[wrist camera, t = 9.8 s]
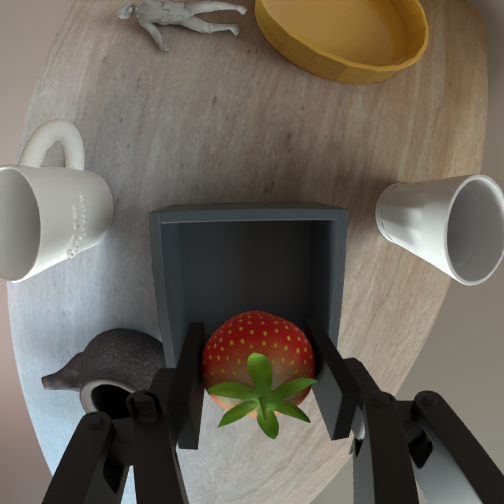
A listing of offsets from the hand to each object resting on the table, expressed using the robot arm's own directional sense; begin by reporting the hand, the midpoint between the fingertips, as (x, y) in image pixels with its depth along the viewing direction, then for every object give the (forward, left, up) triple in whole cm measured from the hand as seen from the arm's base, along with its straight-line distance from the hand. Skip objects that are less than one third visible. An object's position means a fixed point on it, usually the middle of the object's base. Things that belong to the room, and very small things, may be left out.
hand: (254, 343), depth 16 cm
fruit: (0, 0, -2) cm, 2 cm away
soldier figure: (+6, -26, -13) cm, 30 cm away
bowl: (-10, -28, -13) cm, 32 cm away
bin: (0, 0, -13) cm, 13 cm away
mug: (+16, -9, -13) cm, 22 cm away
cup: (-16, -6, -13) cm, 21 cm away
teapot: (+15, +14, -13) cm, 24 cm away
